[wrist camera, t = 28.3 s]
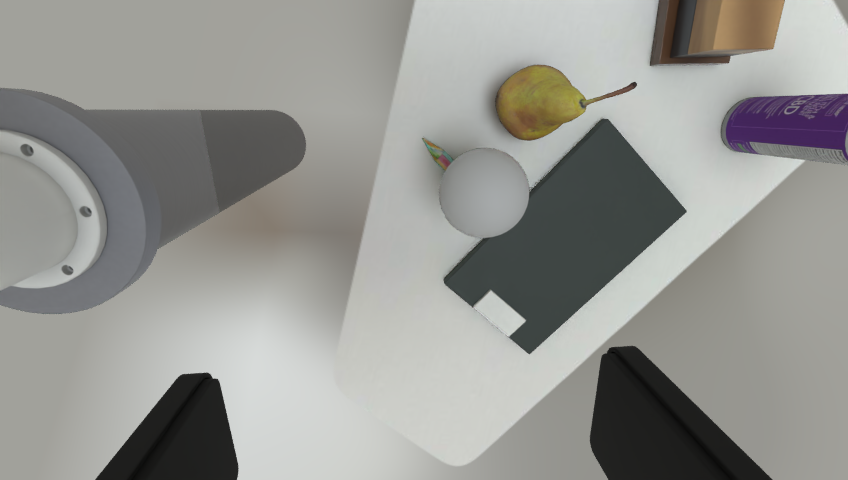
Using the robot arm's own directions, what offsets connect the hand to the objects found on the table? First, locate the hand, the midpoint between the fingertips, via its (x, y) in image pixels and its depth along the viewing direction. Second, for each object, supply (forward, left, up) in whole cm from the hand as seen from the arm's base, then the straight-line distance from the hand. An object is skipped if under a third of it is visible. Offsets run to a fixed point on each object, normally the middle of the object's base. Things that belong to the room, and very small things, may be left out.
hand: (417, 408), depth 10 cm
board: (+15, -5, -26) cm, 31 cm away
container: (+31, +5, -26) cm, 41 cm away
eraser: (+24, +14, -25) cm, 38 cm away
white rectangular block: (+9, -12, -25) cm, 29 cm away
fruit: (+10, +7, -26) cm, 29 cm away
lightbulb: (+6, +1, -26) cm, 27 cm away
